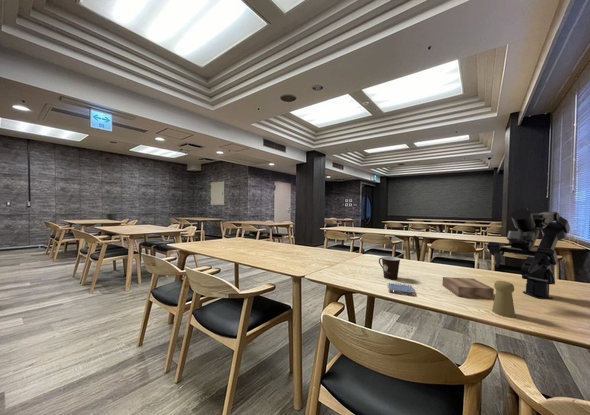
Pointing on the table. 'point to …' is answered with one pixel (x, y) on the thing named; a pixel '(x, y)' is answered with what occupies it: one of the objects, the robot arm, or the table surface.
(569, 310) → the table surface
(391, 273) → the coffee mug
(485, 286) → the walnut block
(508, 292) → the cork
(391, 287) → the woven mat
